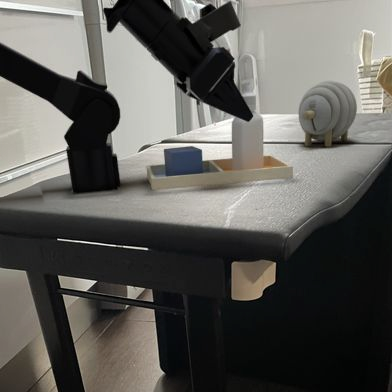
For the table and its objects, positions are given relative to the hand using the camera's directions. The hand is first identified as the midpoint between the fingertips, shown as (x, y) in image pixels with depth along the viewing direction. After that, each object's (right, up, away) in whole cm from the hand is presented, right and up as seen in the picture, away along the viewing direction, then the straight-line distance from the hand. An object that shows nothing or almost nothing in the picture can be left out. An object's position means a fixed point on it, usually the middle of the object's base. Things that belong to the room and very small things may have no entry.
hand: (243, 116), depth 78 cm
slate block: (-8, -9, +1) cm, 12 cm away
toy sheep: (+18, +7, +29) cm, 35 cm away
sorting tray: (-4, -8, +4) cm, 10 cm away
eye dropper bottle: (+1, -7, +4) cm, 8 cm away
